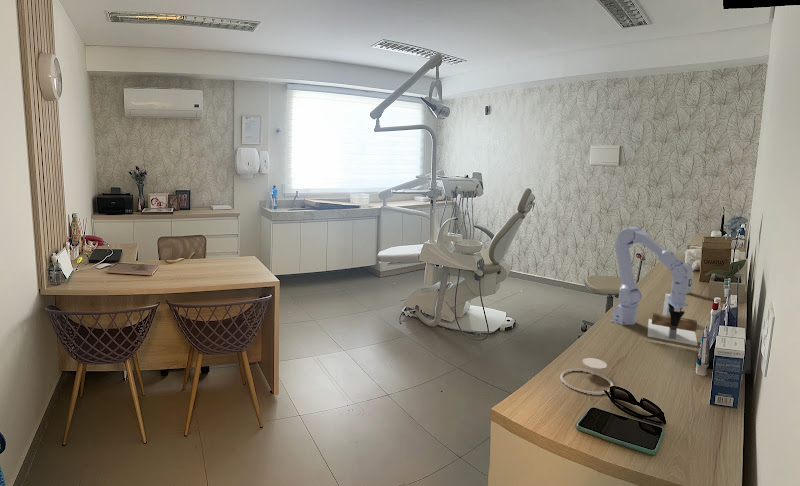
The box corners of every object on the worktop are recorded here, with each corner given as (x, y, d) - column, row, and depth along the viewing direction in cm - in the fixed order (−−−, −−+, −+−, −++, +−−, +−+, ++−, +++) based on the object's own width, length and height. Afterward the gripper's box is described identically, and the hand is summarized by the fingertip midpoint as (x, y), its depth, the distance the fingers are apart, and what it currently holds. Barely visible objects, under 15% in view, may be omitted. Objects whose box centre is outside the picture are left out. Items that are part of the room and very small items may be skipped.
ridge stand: (697, 348, 189) (699, 336, 188) (647, 338, 198) (648, 327, 197) (693, 328, 210) (695, 318, 209) (648, 320, 218) (649, 310, 217)
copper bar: (651, 323, 200) (653, 315, 200) (651, 321, 203) (653, 312, 202) (695, 331, 193) (697, 322, 192) (695, 329, 196) (696, 320, 195)
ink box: (691, 293, 263) (694, 273, 261) (685, 294, 261) (688, 273, 259) (677, 289, 271) (680, 269, 269) (671, 290, 269) (674, 269, 267)
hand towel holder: (553, 372, 156) (573, 352, 172) (552, 384, 157) (572, 363, 173) (607, 389, 146) (623, 366, 162) (605, 402, 147) (622, 377, 163)
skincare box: (674, 318, 223) (678, 294, 220) (679, 321, 218) (683, 297, 216) (661, 317, 223) (665, 293, 221) (665, 320, 219) (669, 296, 217)
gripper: (690, 298, 187) (685, 330, 190) (688, 289, 199) (684, 319, 202) (670, 295, 190) (665, 327, 193) (669, 286, 203) (665, 316, 205)
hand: (673, 323), depth 198 cm, fingers open, 7 cm apart
